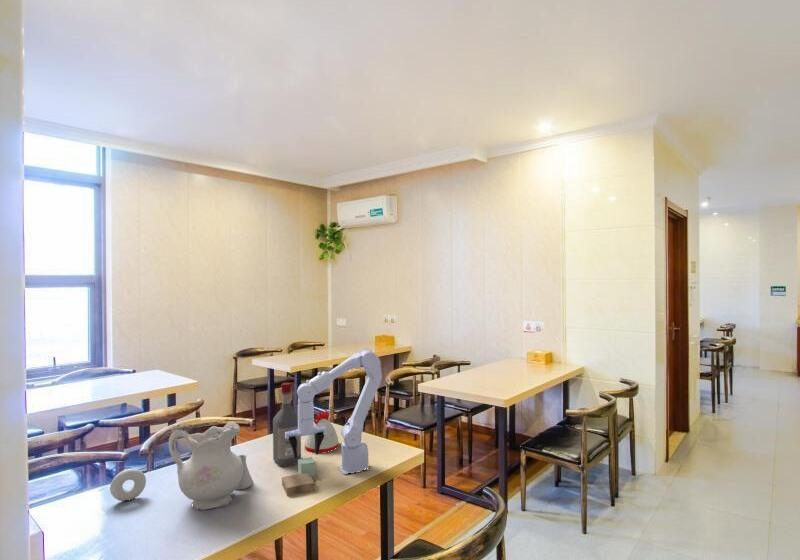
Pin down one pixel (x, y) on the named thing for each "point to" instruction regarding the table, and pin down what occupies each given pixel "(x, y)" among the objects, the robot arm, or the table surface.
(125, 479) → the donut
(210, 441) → the ceramic pitcher
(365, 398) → the robot arm
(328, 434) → the white bell
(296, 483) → the walnut base
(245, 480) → the flask
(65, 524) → the table surface
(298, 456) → the liquor
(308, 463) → the sage cube
